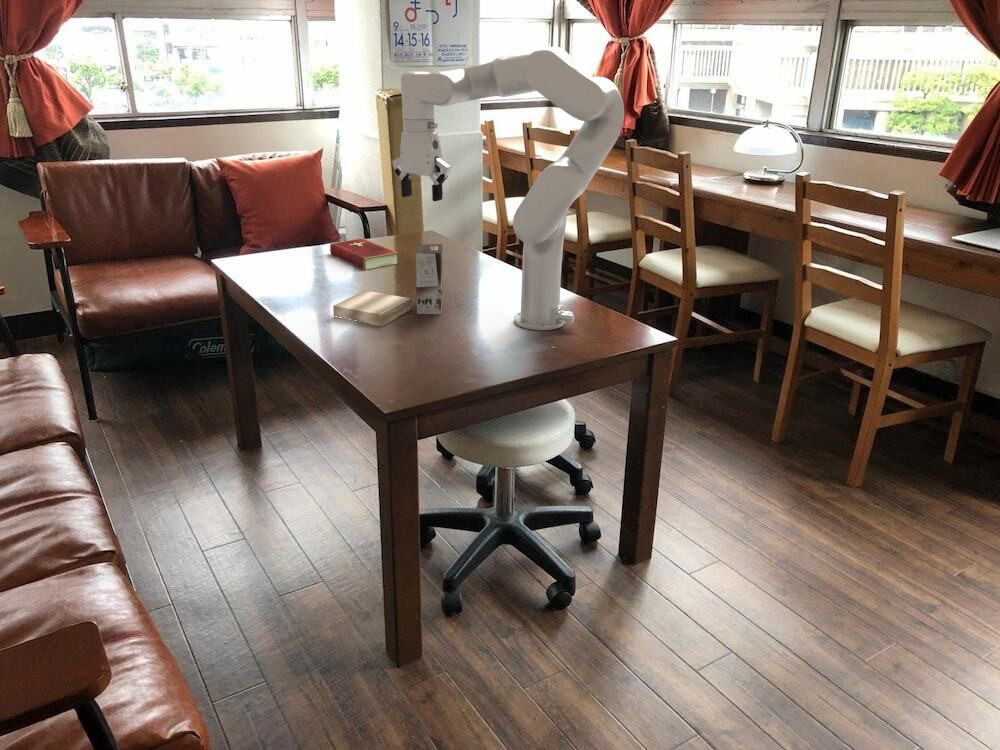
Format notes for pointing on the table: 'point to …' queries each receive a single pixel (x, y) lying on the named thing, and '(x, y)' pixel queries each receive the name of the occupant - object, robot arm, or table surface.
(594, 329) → the table surface
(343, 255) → the hardcover book
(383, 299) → the birch base
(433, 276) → the coffee box
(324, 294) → the table surface
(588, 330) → the table surface
